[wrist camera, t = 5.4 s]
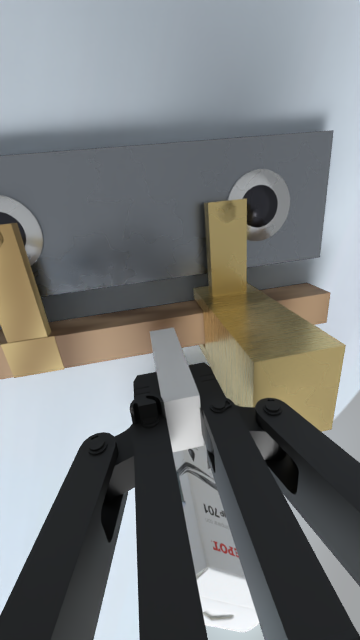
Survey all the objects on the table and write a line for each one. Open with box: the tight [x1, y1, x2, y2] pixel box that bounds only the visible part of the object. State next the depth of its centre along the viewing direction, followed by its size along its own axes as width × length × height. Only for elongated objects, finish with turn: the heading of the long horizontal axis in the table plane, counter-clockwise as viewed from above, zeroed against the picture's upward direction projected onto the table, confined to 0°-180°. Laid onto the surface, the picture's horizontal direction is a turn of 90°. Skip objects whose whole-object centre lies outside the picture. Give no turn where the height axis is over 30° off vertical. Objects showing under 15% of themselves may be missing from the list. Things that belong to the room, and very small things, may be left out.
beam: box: [0, 223, 330, 379], centre depth 19 cm, size 26×9×3 cm, turn 96°
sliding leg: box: [193, 199, 346, 432], centre depth 16 cm, size 4×10×11 cm, turn 6°
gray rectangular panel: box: [0, 130, 333, 296], centre depth 18 cm, size 26×8×1 cm, turn 96°
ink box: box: [173, 439, 259, 632], centre depth 22 cm, size 9×5×12 cm, turn 50°
